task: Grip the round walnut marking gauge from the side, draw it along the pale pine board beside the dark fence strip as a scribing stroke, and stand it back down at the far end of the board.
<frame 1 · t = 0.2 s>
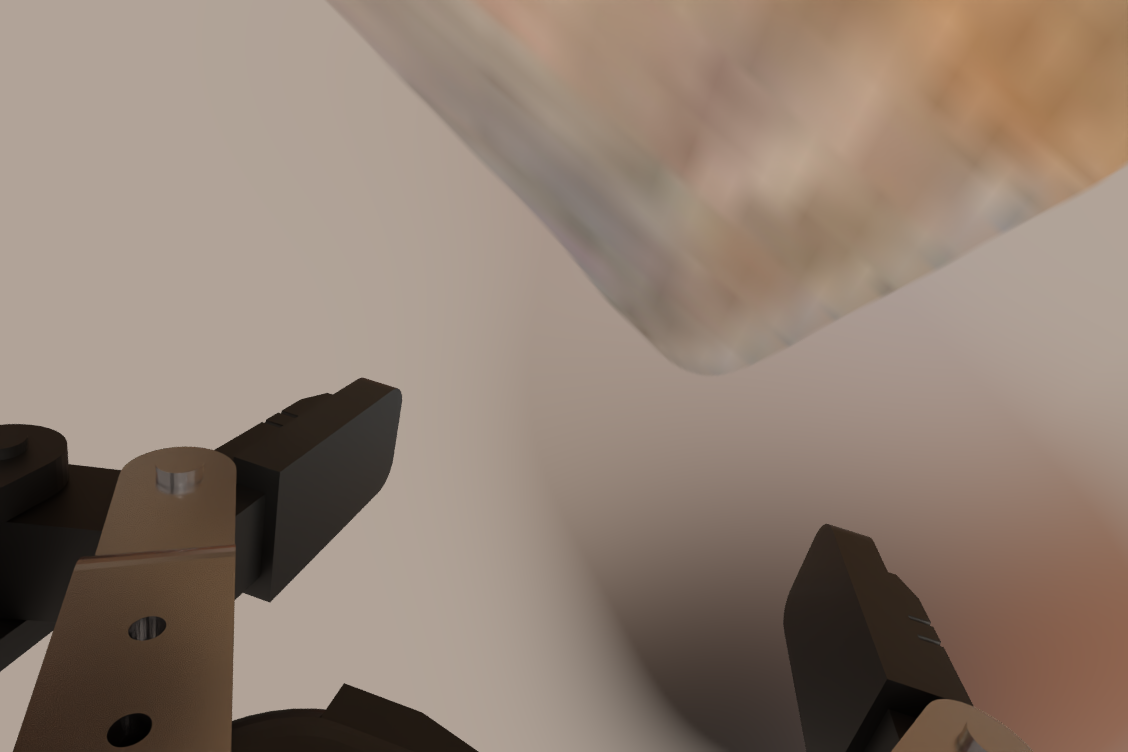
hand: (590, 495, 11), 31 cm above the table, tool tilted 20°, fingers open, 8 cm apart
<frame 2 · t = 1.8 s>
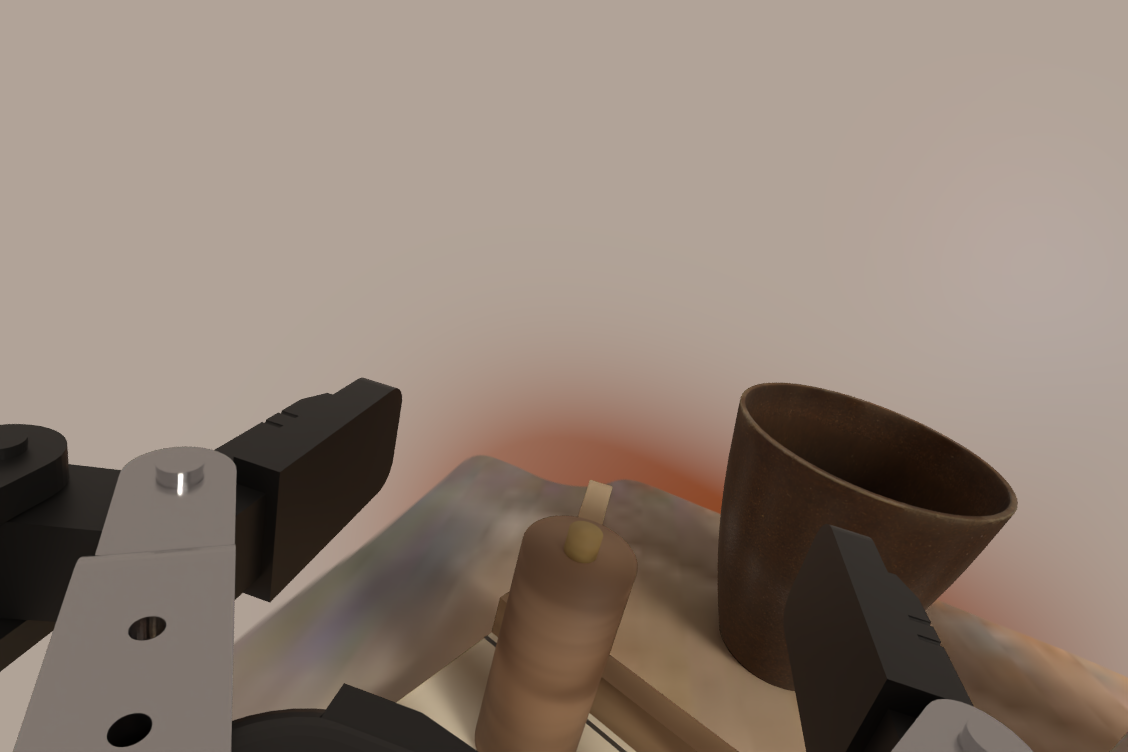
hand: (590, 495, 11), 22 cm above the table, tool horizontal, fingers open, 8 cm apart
gauge: (525, 738, 29), point 2 cm above the table, touching board
plant pot: (771, 649, 41), on the table
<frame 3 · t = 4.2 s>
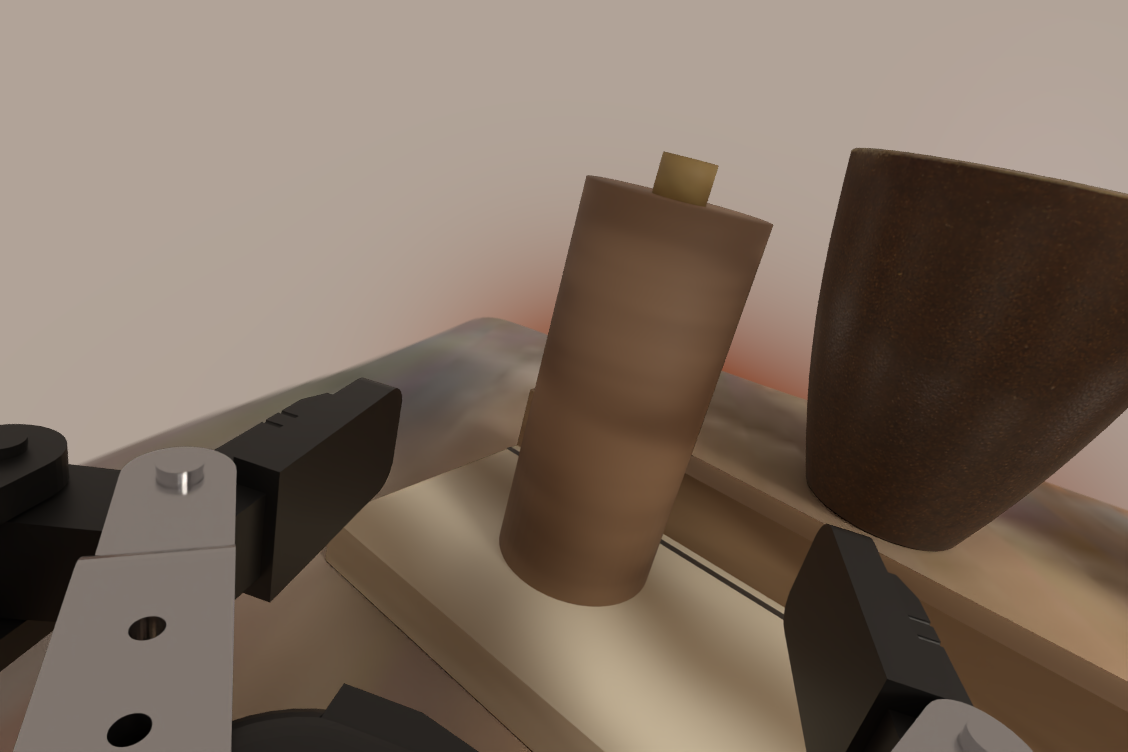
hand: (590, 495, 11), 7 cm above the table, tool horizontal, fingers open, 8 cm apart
gauge: (574, 550, 19), point 2 cm above the table, touching board
plant pot: (876, 510, 31), on the table
board: (764, 737, 17), on the table
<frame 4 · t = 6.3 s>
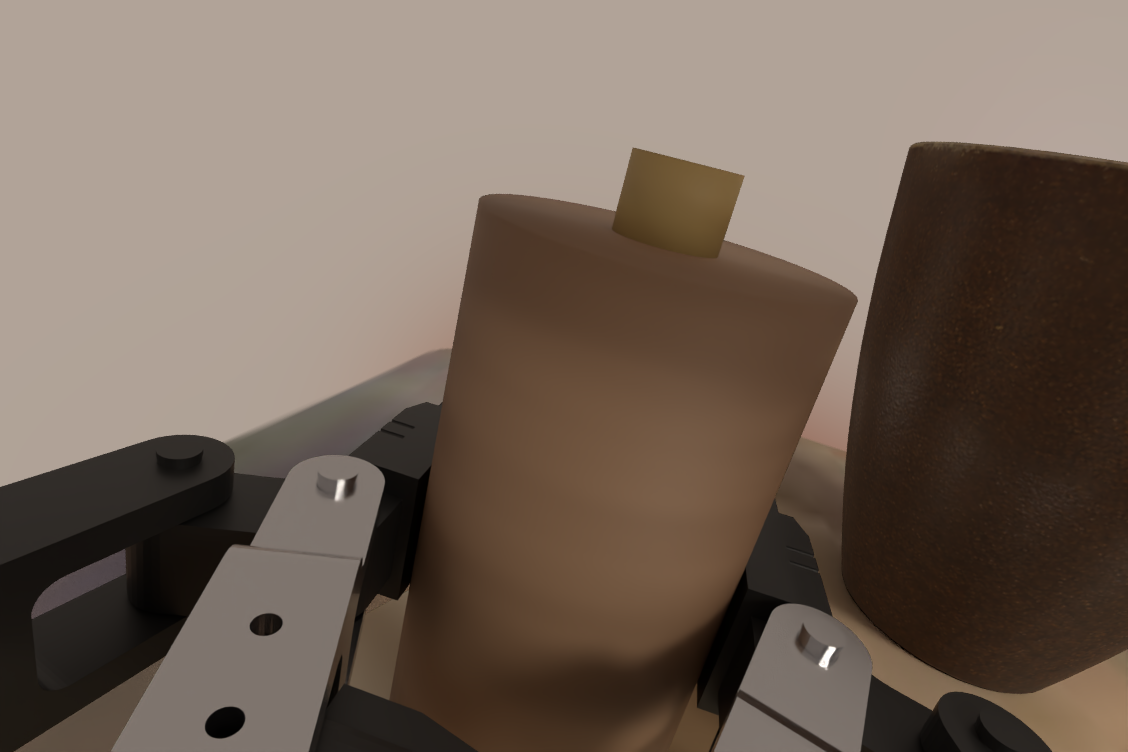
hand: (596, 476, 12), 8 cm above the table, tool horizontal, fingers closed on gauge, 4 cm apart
plant pot: (935, 620, 24), on the table
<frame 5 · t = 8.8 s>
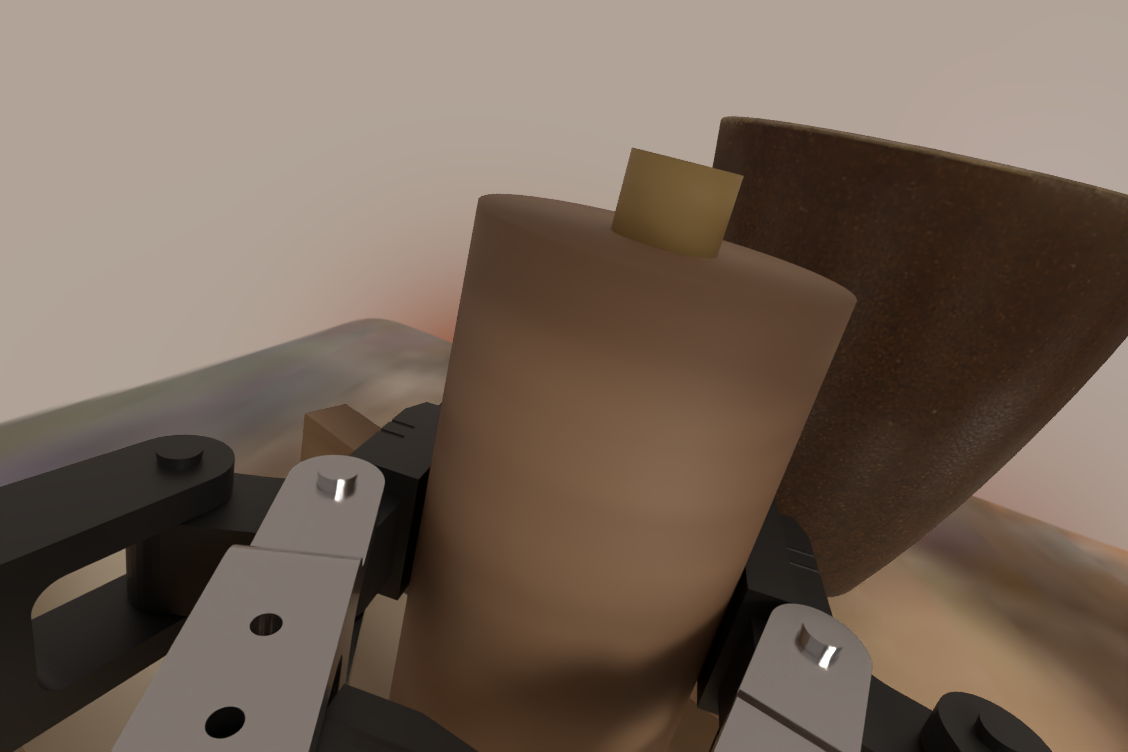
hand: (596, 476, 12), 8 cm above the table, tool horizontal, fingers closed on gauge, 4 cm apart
plant pot: (769, 544, 27), on the table
when the fingers open (8 cm above the table, at t = 11.4 s): gauge stays where it is, resting on board.
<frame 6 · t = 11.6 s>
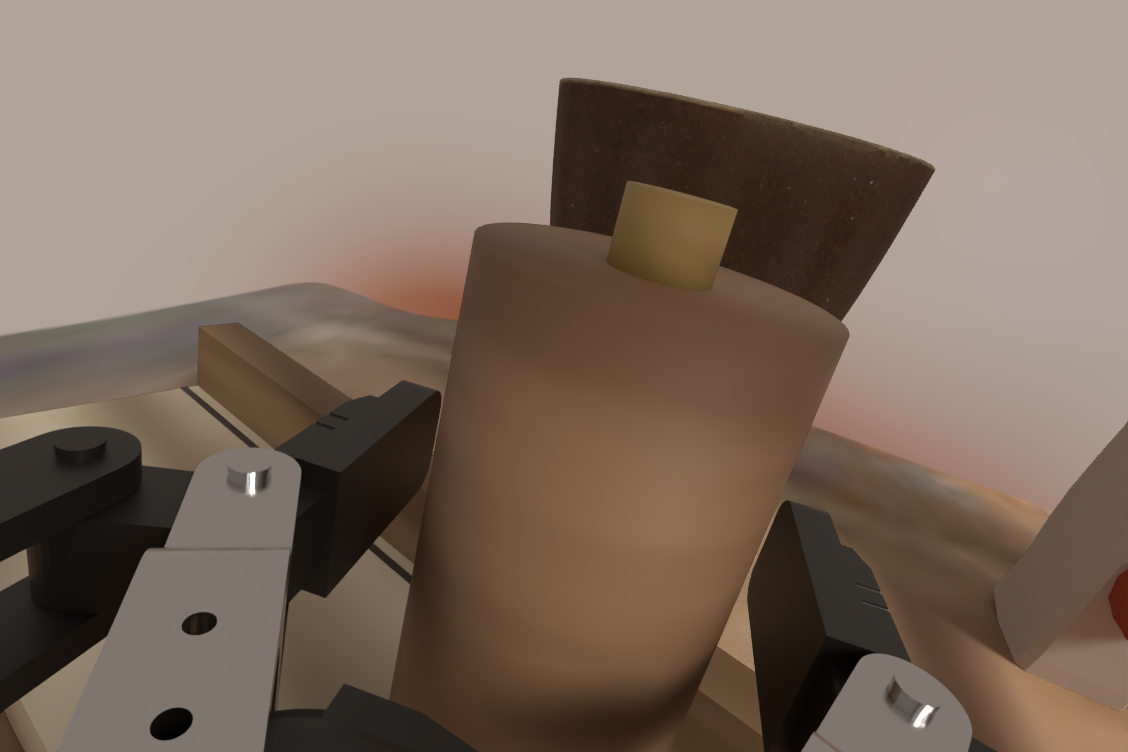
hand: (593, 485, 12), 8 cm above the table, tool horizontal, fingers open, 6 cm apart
plant pot: (631, 462, 31), on the table
board: (287, 657, 16), on the table
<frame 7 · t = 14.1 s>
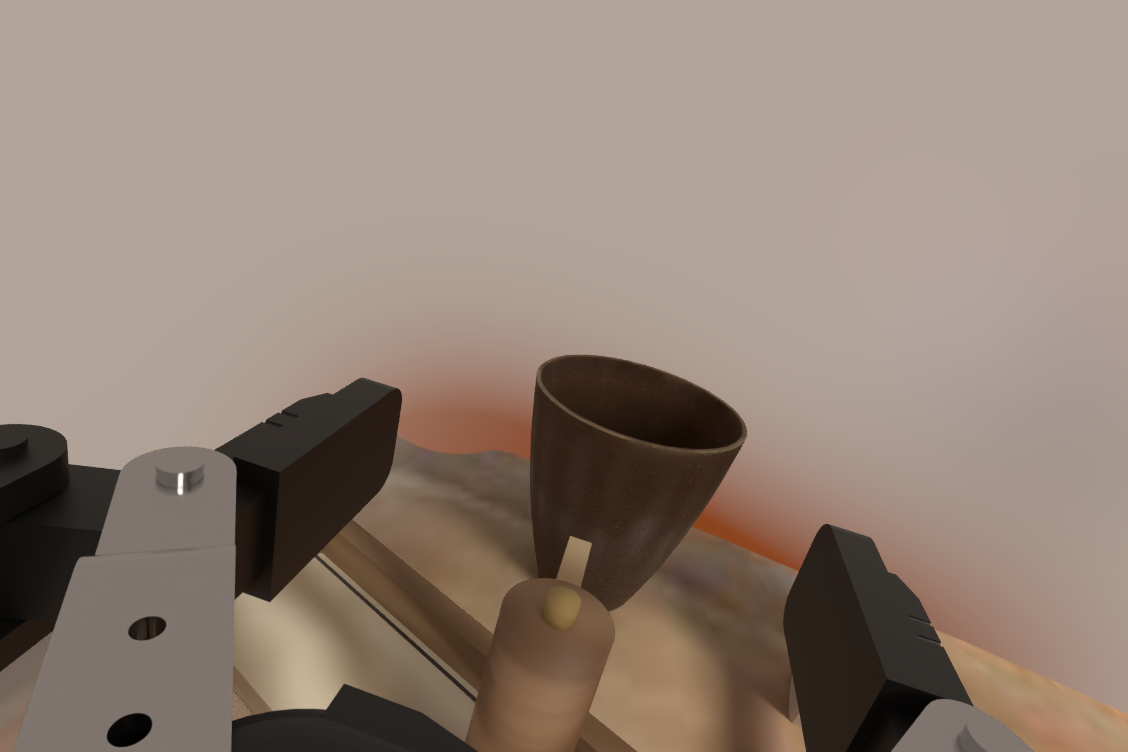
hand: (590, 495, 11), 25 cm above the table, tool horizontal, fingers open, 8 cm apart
plant pot: (582, 581, 48), on the table
board: (398, 725, 33), on the table
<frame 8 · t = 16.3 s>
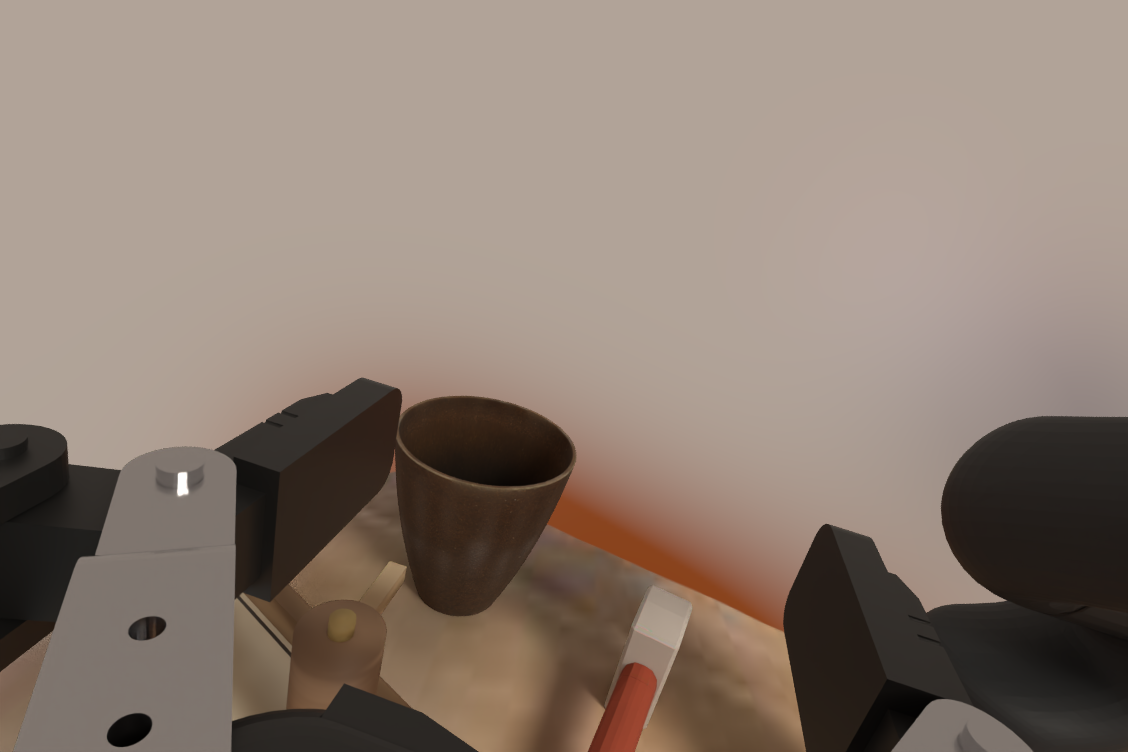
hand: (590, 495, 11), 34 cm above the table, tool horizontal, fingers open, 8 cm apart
plant pot: (455, 589, 56), on the table
board: (260, 710, 42), on the table
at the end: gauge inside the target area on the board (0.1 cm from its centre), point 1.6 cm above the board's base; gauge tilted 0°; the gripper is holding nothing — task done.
